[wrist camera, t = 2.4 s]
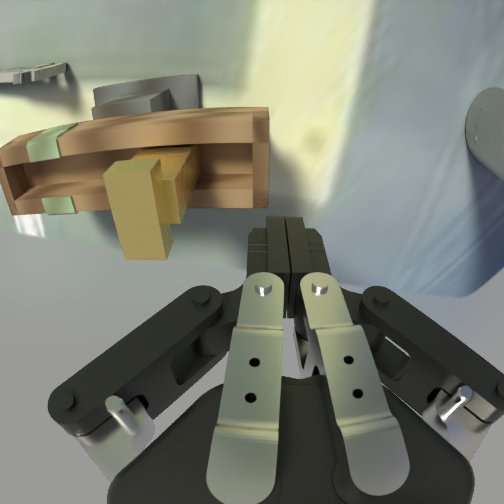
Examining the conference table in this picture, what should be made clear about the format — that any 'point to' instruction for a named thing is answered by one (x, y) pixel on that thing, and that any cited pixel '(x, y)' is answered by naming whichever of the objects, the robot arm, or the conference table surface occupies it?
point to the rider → (152, 197)
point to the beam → (129, 144)
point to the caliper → (31, 73)
